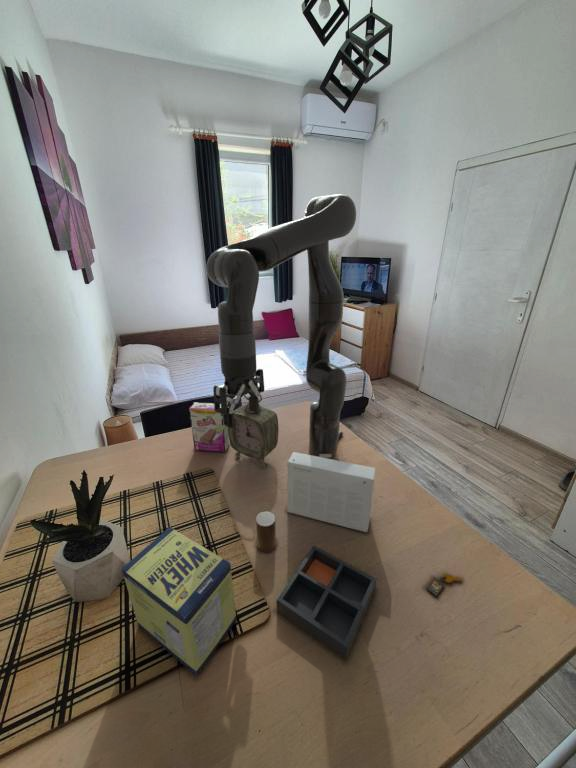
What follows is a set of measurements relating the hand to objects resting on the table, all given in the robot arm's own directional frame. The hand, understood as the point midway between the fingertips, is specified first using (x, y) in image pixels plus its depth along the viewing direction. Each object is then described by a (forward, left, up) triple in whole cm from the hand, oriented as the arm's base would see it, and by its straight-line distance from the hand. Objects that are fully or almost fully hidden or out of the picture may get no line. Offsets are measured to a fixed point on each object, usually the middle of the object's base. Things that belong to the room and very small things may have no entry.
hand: (242, 418), depth 75 cm
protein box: (+28, +8, -28) cm, 40 cm away
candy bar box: (-15, -29, -28) cm, 43 cm away
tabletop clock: (-19, -13, -28) cm, 36 cm away
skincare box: (-10, +18, -28) cm, 35 cm away
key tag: (-6, +47, -28) cm, 55 cm away
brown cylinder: (+6, +10, -28) cm, 30 cm away
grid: (+10, +28, -28) cm, 41 cm away
